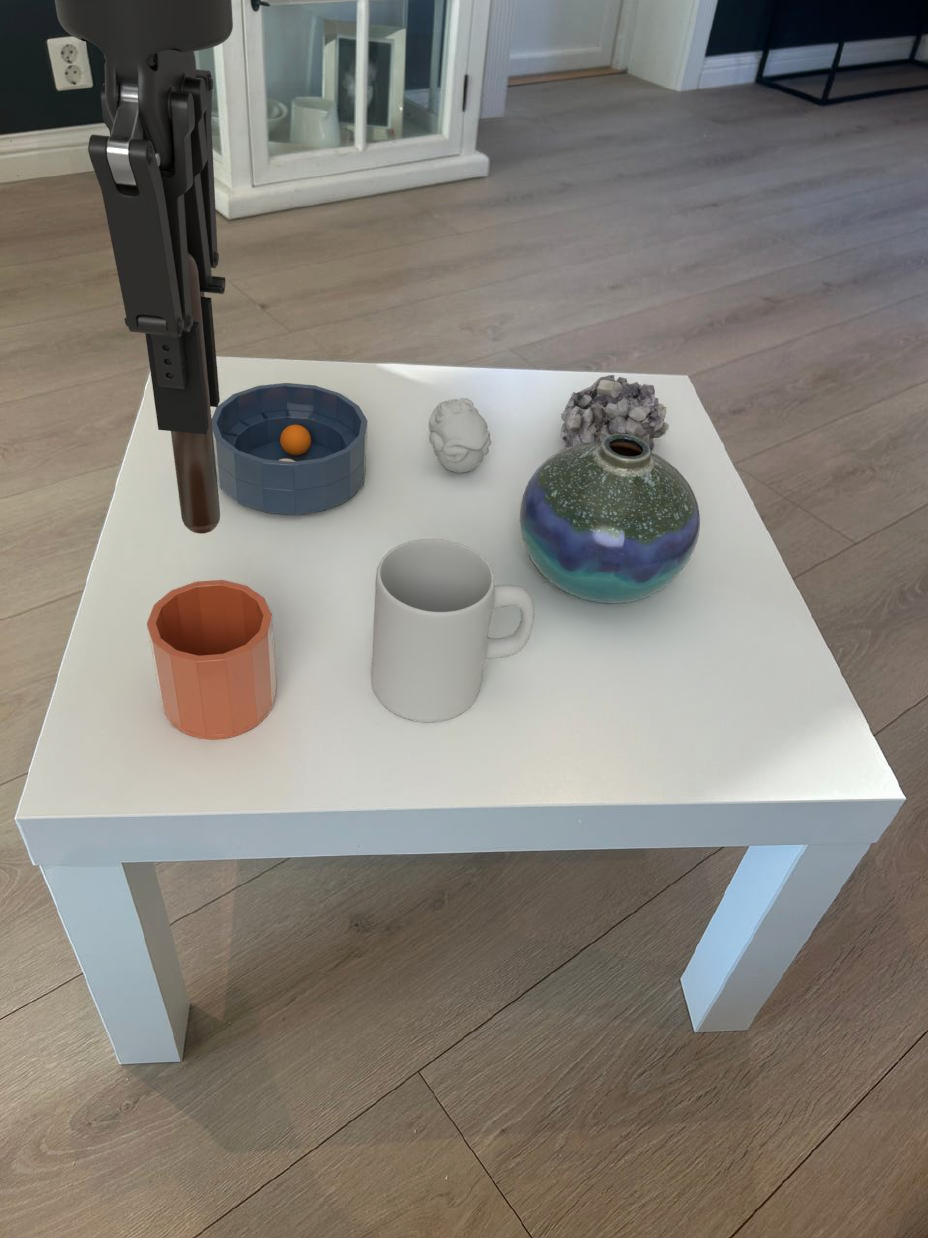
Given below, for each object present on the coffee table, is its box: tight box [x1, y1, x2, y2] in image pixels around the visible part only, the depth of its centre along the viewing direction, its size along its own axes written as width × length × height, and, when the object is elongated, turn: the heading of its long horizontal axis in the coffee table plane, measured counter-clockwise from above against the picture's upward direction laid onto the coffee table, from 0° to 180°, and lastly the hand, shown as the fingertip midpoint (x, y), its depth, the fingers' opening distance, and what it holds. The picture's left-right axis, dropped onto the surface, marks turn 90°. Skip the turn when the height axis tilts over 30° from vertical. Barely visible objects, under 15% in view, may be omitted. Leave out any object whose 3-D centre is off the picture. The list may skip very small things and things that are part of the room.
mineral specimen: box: [559, 374, 670, 452], centre depth 100 cm, size 12×9×10 cm
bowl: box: [211, 382, 369, 516], centre depth 92 cm, size 14×14×6 cm
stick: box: [170, 251, 221, 535], centre depth 56 cm, size 2×2×18 cm
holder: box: [146, 579, 277, 740], centre depth 69 cm, size 8×8×8 cm
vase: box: [519, 434, 701, 604], centre depth 83 cm, size 15×15×13 cm
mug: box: [370, 538, 535, 723], centre depth 72 cm, size 12×8×11 cm
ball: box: [280, 425, 311, 456], centre depth 95 cm, size 3×3×3 cm
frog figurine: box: [428, 397, 492, 474], centre depth 95 cm, size 6×7×7 cm
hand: (189, 414), depth 57 cm, fingers closed on stick, 2 cm apart
